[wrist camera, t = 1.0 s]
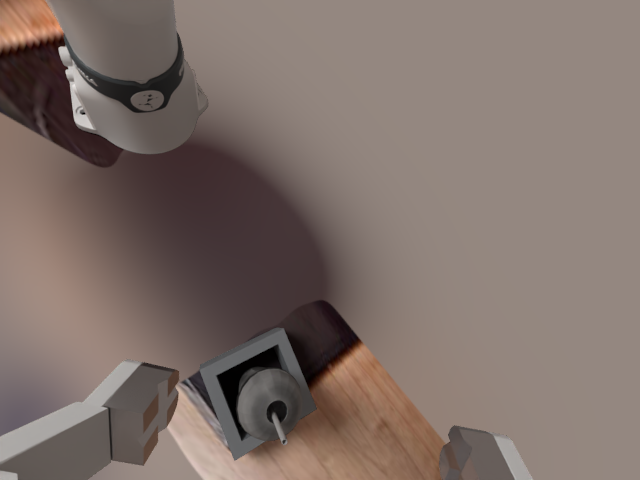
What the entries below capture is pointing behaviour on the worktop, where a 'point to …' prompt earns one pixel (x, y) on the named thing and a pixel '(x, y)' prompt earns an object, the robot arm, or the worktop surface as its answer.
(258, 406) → the beverage cup
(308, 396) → the holder block
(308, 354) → the worktop surface
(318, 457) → the worktop surface
